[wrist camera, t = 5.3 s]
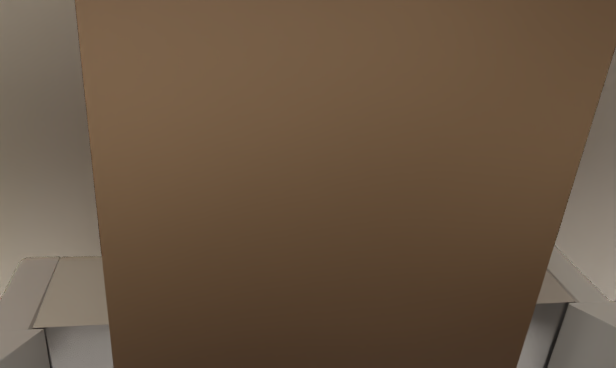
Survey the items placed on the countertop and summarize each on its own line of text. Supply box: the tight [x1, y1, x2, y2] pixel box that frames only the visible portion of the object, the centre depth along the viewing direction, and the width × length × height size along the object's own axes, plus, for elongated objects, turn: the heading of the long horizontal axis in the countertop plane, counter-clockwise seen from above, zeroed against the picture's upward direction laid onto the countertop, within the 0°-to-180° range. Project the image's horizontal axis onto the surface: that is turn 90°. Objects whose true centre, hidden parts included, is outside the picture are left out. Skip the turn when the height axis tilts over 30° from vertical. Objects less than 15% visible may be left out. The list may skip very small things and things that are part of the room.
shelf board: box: [75, 0, 616, 368], centre depth 9 cm, size 18×5×4 cm, turn 176°
